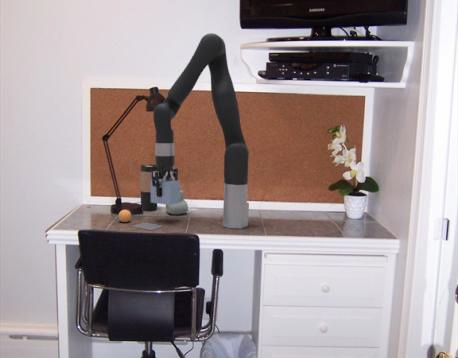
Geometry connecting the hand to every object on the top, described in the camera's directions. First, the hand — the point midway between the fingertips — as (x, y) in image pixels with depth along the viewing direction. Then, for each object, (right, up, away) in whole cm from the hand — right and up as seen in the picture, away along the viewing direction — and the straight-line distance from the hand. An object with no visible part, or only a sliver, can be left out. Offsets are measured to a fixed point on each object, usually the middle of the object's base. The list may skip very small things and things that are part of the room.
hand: (165, 195), depth 205 cm
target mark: (-6, -12, -7) cm, 15 cm away
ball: (-16, -8, -1) cm, 18 cm away
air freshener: (+3, -9, +18) cm, 20 cm away
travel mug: (-10, -7, +24) cm, 27 cm away
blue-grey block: (0, -3, 0) cm, 3 cm away
